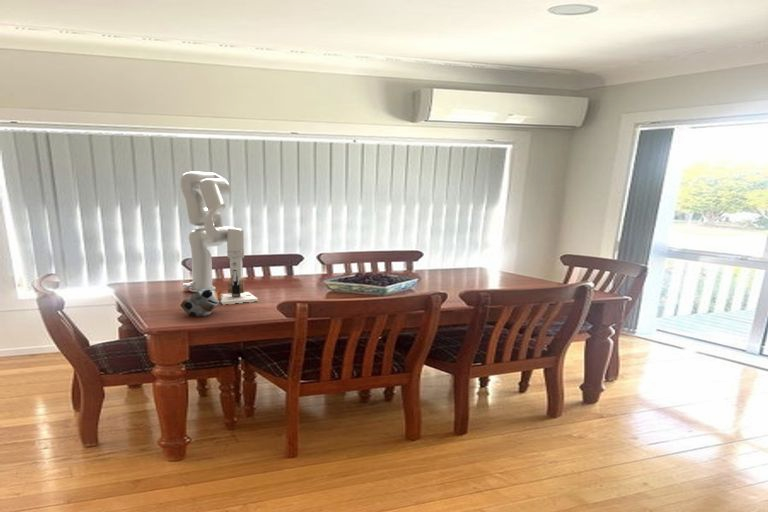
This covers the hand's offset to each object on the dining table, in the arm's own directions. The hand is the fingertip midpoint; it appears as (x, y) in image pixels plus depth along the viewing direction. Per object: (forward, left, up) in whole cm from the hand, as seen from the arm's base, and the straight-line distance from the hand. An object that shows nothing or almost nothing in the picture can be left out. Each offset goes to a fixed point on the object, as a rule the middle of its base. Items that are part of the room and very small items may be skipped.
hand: (236, 292), depth 242 cm
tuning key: (+1, +3, -2) cm, 4 cm away
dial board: (0, 0, -4) cm, 4 cm away
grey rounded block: (-19, -19, -4) cm, 27 cm away
